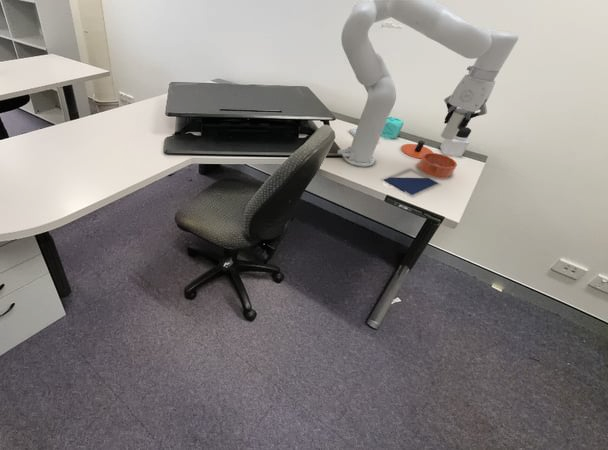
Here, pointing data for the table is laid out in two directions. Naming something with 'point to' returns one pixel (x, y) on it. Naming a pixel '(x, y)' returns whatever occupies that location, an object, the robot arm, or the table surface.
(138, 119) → the table surface
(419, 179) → the towel
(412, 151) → the pot lid
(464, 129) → the medicine bottle
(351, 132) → the hard drive
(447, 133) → the salt shaker
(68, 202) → the table surface
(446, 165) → the pot
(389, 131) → the decorative dice
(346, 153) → the robot arm
